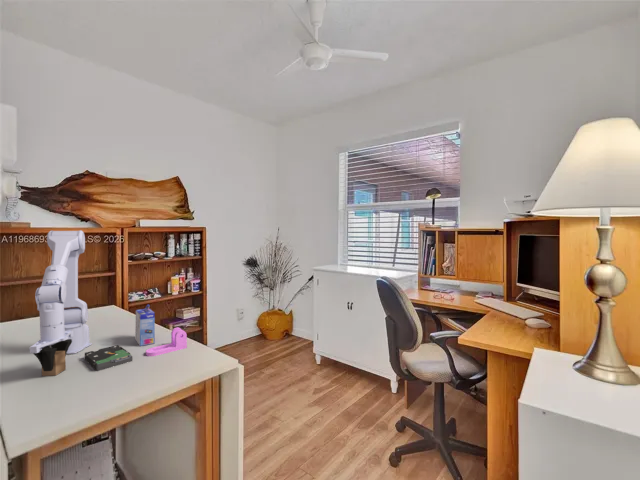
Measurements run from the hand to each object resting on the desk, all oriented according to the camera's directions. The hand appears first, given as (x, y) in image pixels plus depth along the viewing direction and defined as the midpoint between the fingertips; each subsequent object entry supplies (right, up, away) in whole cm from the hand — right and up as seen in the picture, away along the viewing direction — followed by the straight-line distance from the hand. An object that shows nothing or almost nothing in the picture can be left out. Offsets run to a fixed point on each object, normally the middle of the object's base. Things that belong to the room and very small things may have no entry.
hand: (53, 367), depth 97 cm
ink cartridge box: (+13, -1, +27) cm, 30 cm away
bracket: (+26, -1, +18) cm, 31 cm away
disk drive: (+10, -2, +10) cm, 14 cm away
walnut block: (0, -2, 0) cm, 2 cm away
